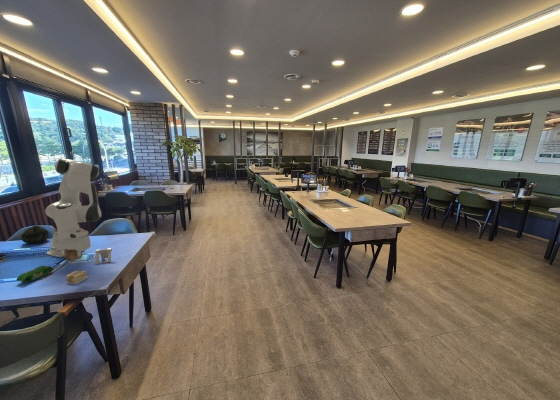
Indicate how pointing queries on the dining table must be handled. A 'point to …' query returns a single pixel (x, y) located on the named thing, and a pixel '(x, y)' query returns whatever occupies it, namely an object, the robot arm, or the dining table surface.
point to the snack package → (35, 273)
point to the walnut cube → (71, 255)
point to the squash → (35, 234)
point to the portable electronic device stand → (103, 255)
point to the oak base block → (76, 276)
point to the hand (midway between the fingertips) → (73, 255)
